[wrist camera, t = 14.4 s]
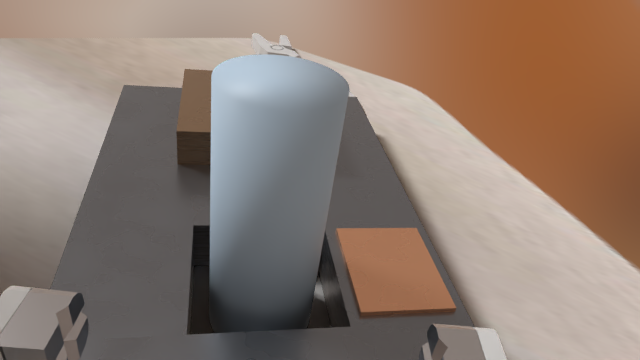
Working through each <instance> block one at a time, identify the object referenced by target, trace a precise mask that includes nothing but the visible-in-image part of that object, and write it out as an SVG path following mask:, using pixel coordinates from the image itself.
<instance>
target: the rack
mask: <svg viewBox="0 0 640 360" xmlns="http://www.w3.org/2000/svg"><path fill="white" fill-rule="evenodd" d="M212 72H213V71H208V70H191V69H185V71H184V79H183V86H182V88H171V87H151V86H132V85H124V87H123V90H122V92H121V95H120V98H119V101H118V103H117V106H116V109H115V112H114V114H113V117H112V120H111V123H110V126H109V128H108V131H107V134H106V137H105V139H104V142H103V145H102V148H101V150H100V153H99V156H98V159H97V161H96V164H95V167H94V170H93V172H92V175H91V178H90V181H89V184H88V186H87V189H86V192H85V195H84V197H83V200H82V203H81V206H80V208H79V211H78V214H77V217H76V219H75V222H74V225H73V228H72V231H71V233H70V236H69V239H68V242H67V244H66V247H65V250H64V253H63V255H62V258H61V261H60V264H59V266H58V269H57V272H56V275H55V278H54V280H53V283H52V286H51V290H60V291H68V292H77V293H82V295H83V299H84V303H85V304H84V306H83V308H82V310H81V312H82V313H83V314H84V315H86V316H87V318H88V324H89V327H88V337H87V341H86V345H85V348H84V350H83V352H82V355H81V357H80V358H79V359H78V360H419V354H420V351H421V348H422V346H423V345H424V344H426V343H427V342H428V338H427V332H428V329H429V327H430V326H431V325H432V324H444V325H457V326H470V327H474V325H473V323H472V321H471V319H470V317H469V315H468V313H467V311H466V309H465V307H464V305H463V303H462V301H461V299H460V298H459V296H458V294H457V292H456V290H455V288H454V286H453V284H452V282H451V280H450V278H449V276H448V274H447V272H446V270H445V268H444V266H443V264H442V262H441V261H440V259H439V257H438V255H437V253H436V251H435V249H434V247H433V245H432V243H431V241H430V239H429V237H428V235H427V233H426V231H425V229H424V227H423V226H422V224H421V222H420V220H419V218H418V216H417V214H416V212H415V210H414V208H413V206H412V204H411V202H410V200H409V198H408V196H407V194H406V192H405V190H404V189H403V187H402V185H401V183H400V181H399V179H398V177H397V175H396V173H395V171H394V169H393V167H392V165H391V163H390V161H389V159H388V157H387V155H386V153H385V152H384V150H383V148H382V146H381V144H380V142H379V140H378V138H377V136H376V134H375V132H374V130H373V128H372V126H371V124H370V122H369V120H368V118H367V117H366V115H365V113H364V111H363V109H362V107H361V105H360V103H359V101H358V99H357V97H348V102H347V107H346V113H345V119H344V125H343V130H342V136H341V142H340V147H339V153H338V159H337V165H336V170H335V176H334V182H333V188H332V193H331V199H330V205H329V210H328V216H327V222H326V228H325V233H324V239H323V245H322V250H321V256H320V262H319V268H318V271H319V275H320V279H321V284H322V288H323V293H324V297H325V301H326V306H327V310H328V315H329V319H330V323H331V328H312V329H292V330H272V331H251V332H231V333H211V334H190V328H191V309H192V291H193V272H194V266H210V171H211V75H212Z"/></svg>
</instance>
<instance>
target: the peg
mask: <svg viewBox="0 0 640 360" xmlns="http://www.w3.org/2000/svg"><path fill="white" fill-rule="evenodd" d="M348 96H349V85H348V83H347V81H346V80H345V79H344V78H343V77H342V76H341V75H340V74H339V73H337V72H335V71H334V70H332V69H330V68H328V67H326V66H324V65H321V64H319V63H316V62H313V61H309V60H305V59H301V58H296V57H290V56H283V55H268V54H265V55H247V56H241V57H236V58H232V59H229V60H227V61H224V62H222V63H220V64H219V65H218V66H216V67H215V68H214V70H213V72H212V75H211V171H210V282H209V319H210V324H211V327H212V329H213V331H214V332H215V333H231V332H251V331H272V330H292V329H307V327H308V324H309V319H310V313H311V308H312V302H313V296H314V291H315V285H316V279H317V273H318V268H319V262H320V256H321V250H322V245H323V239H324V233H325V228H326V222H327V216H328V210H329V205H330V199H331V193H332V188H333V182H334V176H335V170H336V165H337V159H338V153H339V147H340V142H341V136H342V130H343V125H344V119H345V113H346V107H347V102H348Z"/></svg>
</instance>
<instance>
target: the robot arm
mask: <svg viewBox="0 0 640 360" xmlns="http://www.w3.org/2000/svg"><path fill="white" fill-rule="evenodd" d="M84 304H85V303H84V299H83V295H82V293H77V292H68V291H60V290H51V289H42V288H32V287H22V286H13V285H11V286H10V287H9V288H7V289H6V290H4V292H3V293H2V294H1V296H0V360H78V359H79V358H80V357H81V355H82V352H83V350H84V348H85V345H86V341H87V337H88V327H89V324H88V318H87V316H86V315H84V314H83V313H82V312H81V310H82V308H83V306H84ZM427 338H428V342H427V343H426V344H424V345H423V346H422V348H421V351H420V354H419V360H507V357H506V354H505V352H504V349H503V346H502V344H501V341H500V338H499V336H498V333H497V332H496V331H495V329H489V328H478V327H470V326H457V325H444V324H432V325H431V326H430V327H429V329H428V332H427Z"/></svg>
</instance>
